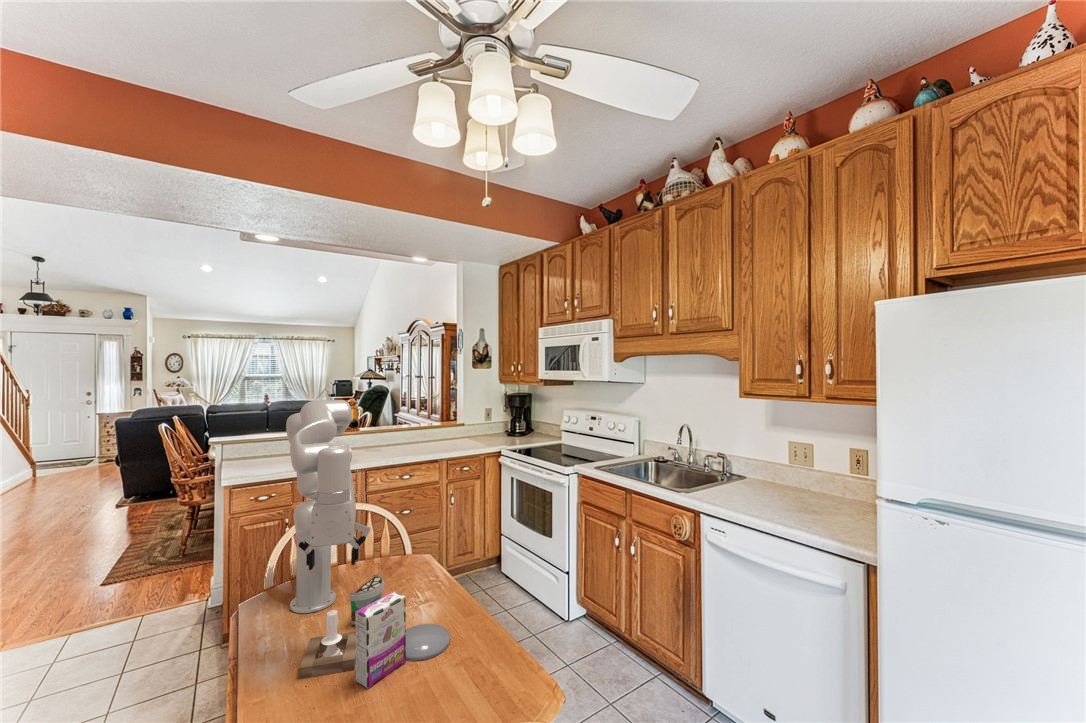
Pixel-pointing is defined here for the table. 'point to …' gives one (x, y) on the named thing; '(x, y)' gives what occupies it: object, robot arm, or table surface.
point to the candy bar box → (380, 638)
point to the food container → (366, 595)
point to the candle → (331, 635)
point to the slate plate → (426, 641)
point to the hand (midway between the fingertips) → (332, 565)
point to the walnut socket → (331, 664)
